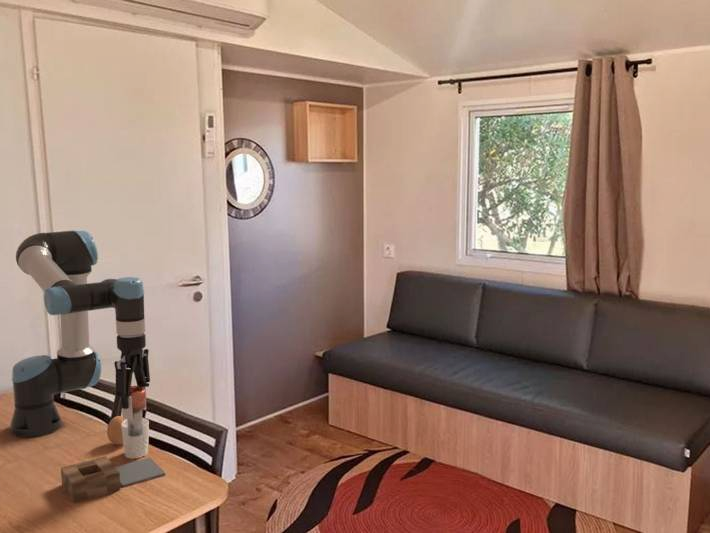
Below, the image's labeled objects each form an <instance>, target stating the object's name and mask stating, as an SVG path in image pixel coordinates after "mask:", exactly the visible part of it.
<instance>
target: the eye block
mask: <svg viewBox="0 0 710 533" xmlns="http://www.w3.org/2000/svg"><path fill="white" fill-rule="evenodd" d="M115 467H116V466H115V465H114V464H113V462H111V461H110V460H109V458H108V457H107V455H105V456H102V457H97V458H94V459H89V460H86V461H82V462H78V463H73V464H71V465H70V464H69V465H67V466H66V465H65V466H63V467H60V473H61V474H60V475H61V485H62V487H63V489H64V490H65V492H66V493H67V494H68V496H69V498H70V499H71V501H72V503H73V504H75V503H79V502H82V501H86V500H90V499H93V498H97V497H101V496H104V495H106V494H110V493H113V492H114V493H115V492H118V491H120V490H121V484H120V472H119V471H118V470H117V469H116V468H115Z"/></svg>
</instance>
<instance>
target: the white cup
mask: <svg viewBox="0 0 710 533" xmlns="http://www.w3.org/2000/svg"><path fill="white" fill-rule="evenodd" d="M142 420H143V434H142V435H140V436H137V437H131V436H129V435H128V421H127V419H125V421H124V422H122V424H121V427H122V438H123V444H122V445H123V450H124V457H125V458H127V459H134V458H136V459H141V458H144V457H145V456H147V455H148V453H149V439H150V432H149V431H150V426H149V425H150V421H149V419H147V418H145V417H142ZM143 456H144V457H143Z"/></svg>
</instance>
